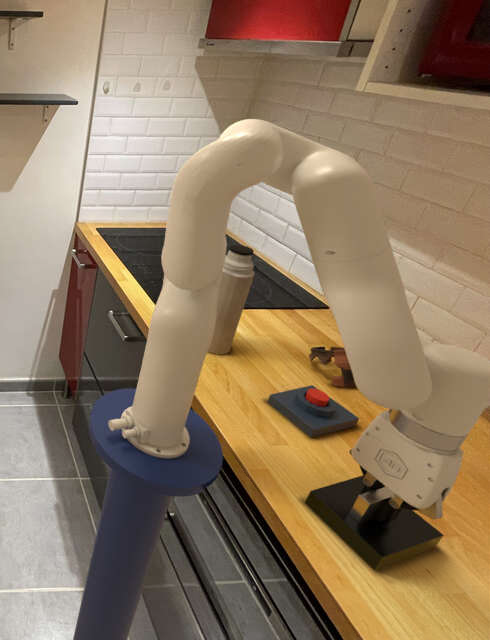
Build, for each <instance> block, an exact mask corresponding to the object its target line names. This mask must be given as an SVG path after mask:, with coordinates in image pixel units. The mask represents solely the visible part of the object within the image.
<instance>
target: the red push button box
mask: <svg viewBox="0 0 490 640" xmlns="http://www.w3.org/2000/svg"><path fill="white" fill-rule="evenodd" d="M309 389H318V387H316V386H314V385H313V384H311V385H307V386H302V387H298V388H293V389H290V390H289V389H288V390H284V391H280V392H275V393H271V394H269V397H268V400H267V404H269V405H270V406H271V407H272V408H274V409H275V410H277V411H278V412H279V413H280V414H281V415H283V416H284V417H285V418H286V419H287V420H288V421H290V422H291V423H292V424H293V425H295V426H296V427H297V428H298V429H300V430H301V431H302V432H303V433H304V434H306V435H307V436H308V437H309V438H314V437H319V436H323V435H327V434H330V433H334V432H338V431H342V430H347V429H350V428H353V427H356V426H357V424H358V422H359V420H360V418H359V417H358V416H357V415H355V414H354V413H352V412H351V411H350V410H348V409H347V408H346V407H344V406H343V405H341V404H340V403H339V402H337V401H336V400H335V399H333V398H332V397H331V396H329V401H328V403H327V405H326V406H325V407H321V406H317V405H315V404H312V403H311V402H309V401H308V400H306V398H305V396H306V394H307V392H308V390H309ZM318 390H320V389H318Z"/></svg>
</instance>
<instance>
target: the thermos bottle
mask: <svg viewBox="0 0 490 640" xmlns="http://www.w3.org/2000/svg"><path fill="white" fill-rule="evenodd" d="M253 255H254V249H253V248H251V247H249V246H247V245H243V244H231V245H230V246H229V250H228V252H227V254H226V256H225V262H224V265H223V270H222V276H221V283H220V289H219V296H218V304H217V315H216V323H215V330H214V335H213V338H212V342H211V345H210V347H209V350H208V352H207V353H211V354H215V355H226V354H228V353H230V351H231V348H232V345H233V342H234V339H235V335H236V332H237V330H238V326H239V324H240V320H241V317H242V314H243V311H244V308H245V305H246V302H247V299H248V296H249V293H250V290H251V286H252V284H253V280H254V276H255V271H254V270H253V269H254V268H255V267H254V266H255V265H254V262H253V261H252V257H253Z"/></svg>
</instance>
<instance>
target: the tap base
mask: <svg viewBox="0 0 490 640" xmlns="http://www.w3.org/2000/svg"><path fill="white" fill-rule="evenodd" d="M363 479H364V476H363V475H360V476H357V477H352V478H349V479H346V480H343V481H339V482H335V483H332V484H329V485H324V486H322V487H319V488H315V489H312V490H310V491H309V493H308V495H307V497H306V499H305V501H304V504H305V505H306V506H307V507H308V508H309V509H310V510H311V511H312V512H313V513H315V515H317V516H318V518H320V519H321V520H322V521H323V522H324V523H325V524H326V525H327V526H328V527H329V528H330V529H331V530H332V531H333V532H334V533H335V534H337V535H338V537H339V538H340V539H341V540H342V541H344V542H345V543H346V544H347V545H348V546H349V547H350V548H351V549H352V550H353V551H354V552H355V553H356V554H357V555H358V556H359V557H360V558H361V559H362V560H363V561H365V563H366V564H367V565H368V566H370V568H371V569H373V570H374V571H376V570H377V569H380V568H384V567H386V566H389V565H391V564H394V563H397V562H399V561H402V560H405V559H408V558H411V557H413V556H416V555H419V554H421V553H425V552H426V551H429V550H432V549H435V548H436V547H437V546H438V544H439V543H440V541H442V539H443V538H444V536H445V534H443V533H442V532H440V531H439V530H438V529H437V528H435V527H434V526H433V525H432V524H430V523H429V522H428V521H427V520H425V519H424V518H423V517H422V516H420V515H419V514H418V512H417V513H416V511H415V510H409V509H402V510H401V512H400V514H399V515H398V517H397V518H396V519H394V520H392V521H390V520H389V519H385V520H382V521H378V520H377V519H375V518H373V519H370V520H367V521H363V522H360V523H358V522H357V521H356V520H355V519H354V518H353V517H352V516H350V515H349V512H350V510H351V509H352V507H353V505H354V503H355V501H356V500H357V498H358V496H359V495H360V493H361V491H362V489H363V488H364V486H365V484H364V482H363Z"/></svg>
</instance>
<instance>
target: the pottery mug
mask: <svg viewBox="0 0 490 640" xmlns="http://www.w3.org/2000/svg"><path fill="white" fill-rule="evenodd" d="M309 349H310V354H309V355H308V358H309V361H310V362H313V361H314V359H315V358H317V359H318V360H319V361H320V362H321V363H322V364H324V365H327V364H328V363H331V362H332V358H334V359H333V360H334V364H335V366H336V367H337V368H339V369H340V371H341V375H339V376H336V375H335V376H334V375H332V376H331V383H332V386H333V387H339V388H340V387H346V388H347V387H349V388H351V387H355V386H356V384H355V381H354V377H353V373H352V370H351V367H350V364H349V362H348V359H347V355H346V352H345V349H344V347H342V346H330V349H326V346H314V347H311V348H309Z"/></svg>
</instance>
